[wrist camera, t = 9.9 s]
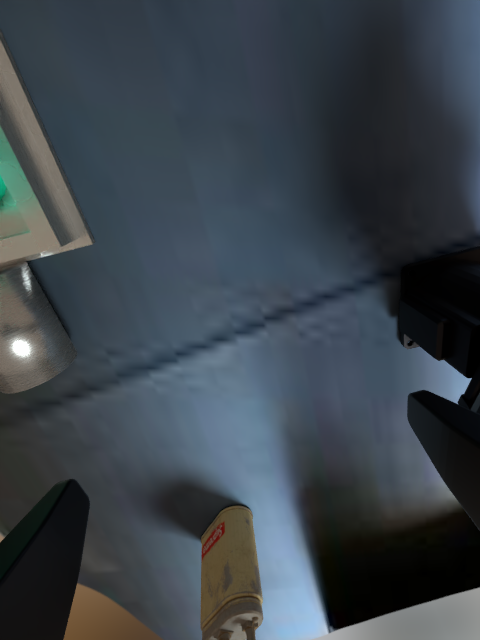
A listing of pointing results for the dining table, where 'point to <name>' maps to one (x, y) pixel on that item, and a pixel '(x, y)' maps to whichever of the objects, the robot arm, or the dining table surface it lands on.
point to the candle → (2, 188)
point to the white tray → (31, 237)
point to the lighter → (230, 578)
